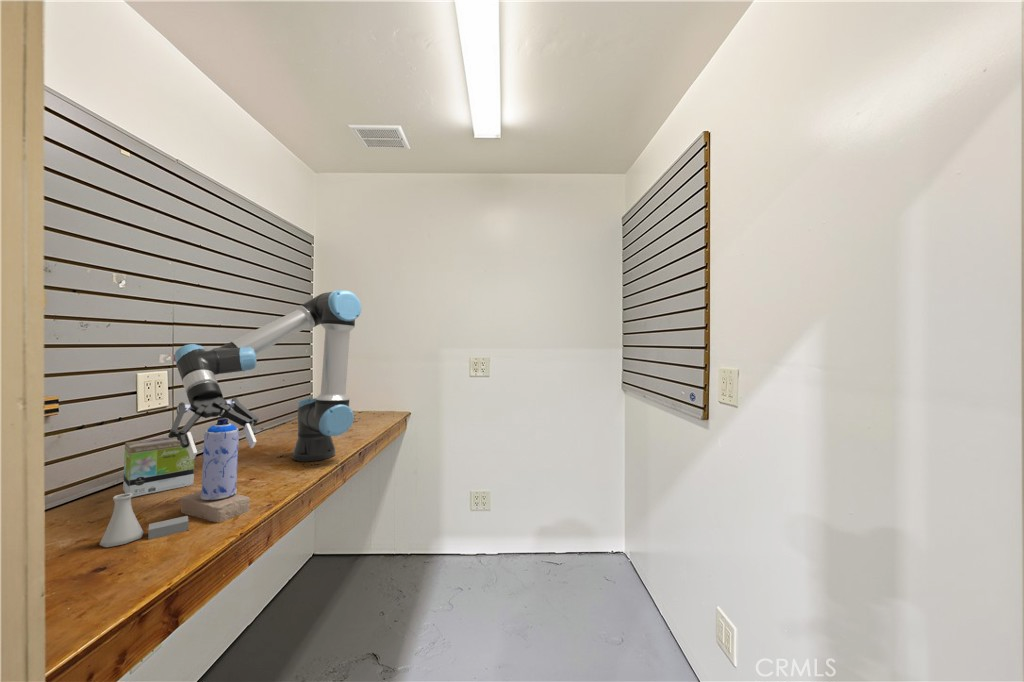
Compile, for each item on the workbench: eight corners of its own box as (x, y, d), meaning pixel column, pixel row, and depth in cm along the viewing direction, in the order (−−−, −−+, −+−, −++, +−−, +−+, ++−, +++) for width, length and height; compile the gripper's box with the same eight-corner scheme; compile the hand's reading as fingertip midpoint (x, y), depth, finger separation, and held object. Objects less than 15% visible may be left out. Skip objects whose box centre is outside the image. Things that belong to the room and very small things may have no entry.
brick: (252, 512, 105) (252, 494, 105) (218, 525, 98) (218, 506, 98) (213, 502, 112) (213, 485, 112) (178, 514, 104) (178, 496, 104)
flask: (141, 529, 94) (141, 487, 95) (146, 539, 90) (147, 494, 90) (97, 541, 89) (98, 496, 89) (101, 551, 84) (101, 504, 84)
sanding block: (187, 525, 97) (187, 515, 97) (188, 531, 94) (188, 521, 94) (148, 534, 92) (149, 524, 92) (148, 541, 89) (148, 530, 89)
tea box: (128, 499, 113) (129, 447, 113) (122, 491, 119) (123, 442, 119) (194, 485, 124) (195, 438, 125) (186, 478, 131) (186, 433, 131)
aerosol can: (242, 493, 107) (246, 418, 107) (208, 502, 100) (212, 422, 101) (228, 487, 111) (232, 415, 111) (194, 495, 104) (198, 419, 105)
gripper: (246, 393, 125) (270, 448, 116) (141, 403, 104) (160, 470, 96) (255, 377, 122) (279, 432, 114) (148, 384, 101) (169, 452, 93)
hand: (225, 450), depth 105 cm, fingers open, 13 cm apart
